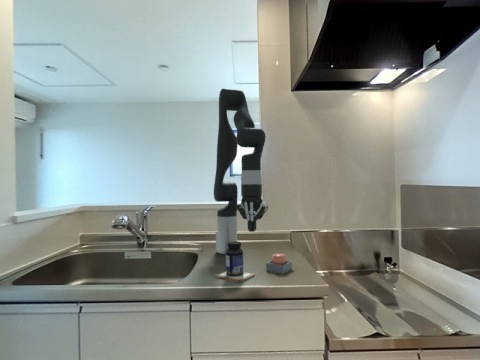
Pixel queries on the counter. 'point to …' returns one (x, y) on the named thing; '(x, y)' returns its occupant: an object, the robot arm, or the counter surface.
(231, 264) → the pill bottle
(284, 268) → the button collar
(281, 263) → the button
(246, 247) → the counter surface
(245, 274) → the picture frame
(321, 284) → the counter surface
